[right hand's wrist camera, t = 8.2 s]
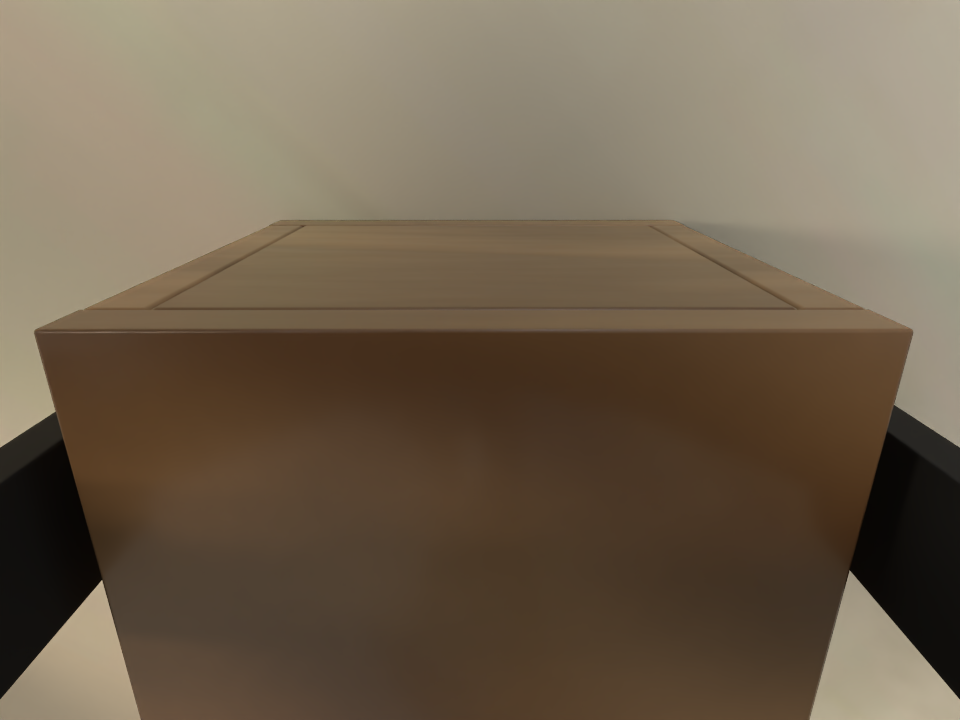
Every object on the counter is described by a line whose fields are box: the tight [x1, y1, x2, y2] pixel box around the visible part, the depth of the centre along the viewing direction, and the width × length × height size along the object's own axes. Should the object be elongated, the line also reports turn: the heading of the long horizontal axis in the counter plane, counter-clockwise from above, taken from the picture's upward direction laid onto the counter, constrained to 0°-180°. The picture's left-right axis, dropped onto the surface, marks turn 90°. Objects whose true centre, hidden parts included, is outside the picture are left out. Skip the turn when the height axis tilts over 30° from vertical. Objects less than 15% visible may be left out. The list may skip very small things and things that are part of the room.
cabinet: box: [34, 220, 913, 720], centre depth 16 cm, size 19×11×10 cm, turn 0°
